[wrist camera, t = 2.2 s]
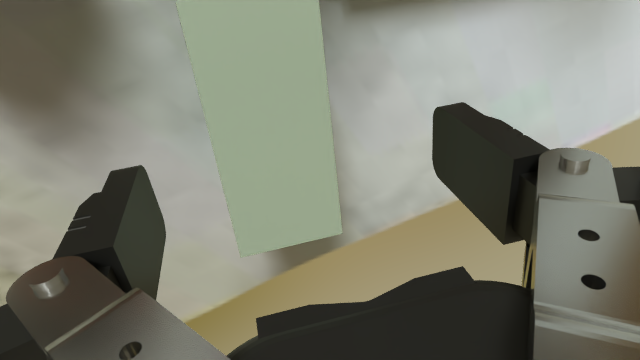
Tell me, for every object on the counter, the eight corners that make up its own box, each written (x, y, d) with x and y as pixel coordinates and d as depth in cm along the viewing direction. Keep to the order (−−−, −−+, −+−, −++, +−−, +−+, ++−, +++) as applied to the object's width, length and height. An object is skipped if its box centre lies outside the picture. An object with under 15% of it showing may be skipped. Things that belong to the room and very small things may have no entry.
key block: (228, 157, 24) (240, 257, 16) (185, -19, 20) (175, 3, 12) (298, 143, 25) (342, 233, 17) (272, -31, 20) (317, -18, 12)
